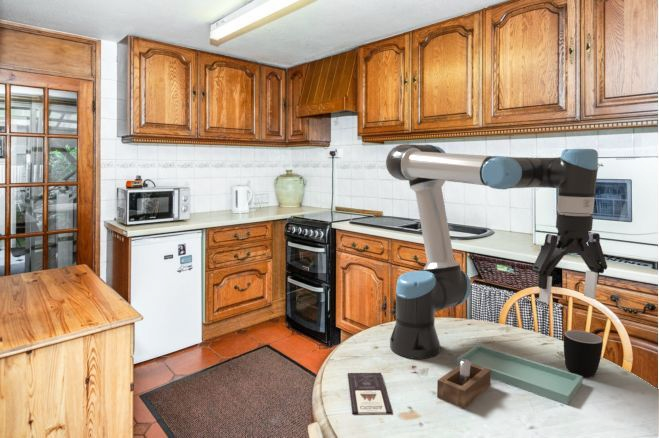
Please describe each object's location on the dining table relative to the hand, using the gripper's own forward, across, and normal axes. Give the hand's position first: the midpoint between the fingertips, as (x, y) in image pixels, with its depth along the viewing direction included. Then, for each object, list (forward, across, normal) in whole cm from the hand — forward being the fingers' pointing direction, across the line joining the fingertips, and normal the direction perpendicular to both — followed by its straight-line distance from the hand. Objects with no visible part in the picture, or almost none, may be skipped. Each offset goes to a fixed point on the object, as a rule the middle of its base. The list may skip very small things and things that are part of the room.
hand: (567, 299), depth 101 cm
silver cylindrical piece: (+23, -25, +4) cm, 34 cm away
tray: (+23, -6, +8) cm, 25 cm away
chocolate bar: (+24, -48, +10) cm, 55 cm away
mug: (+23, +12, +6) cm, 27 cm away
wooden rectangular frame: (+23, -25, +4) cm, 34 cm away
